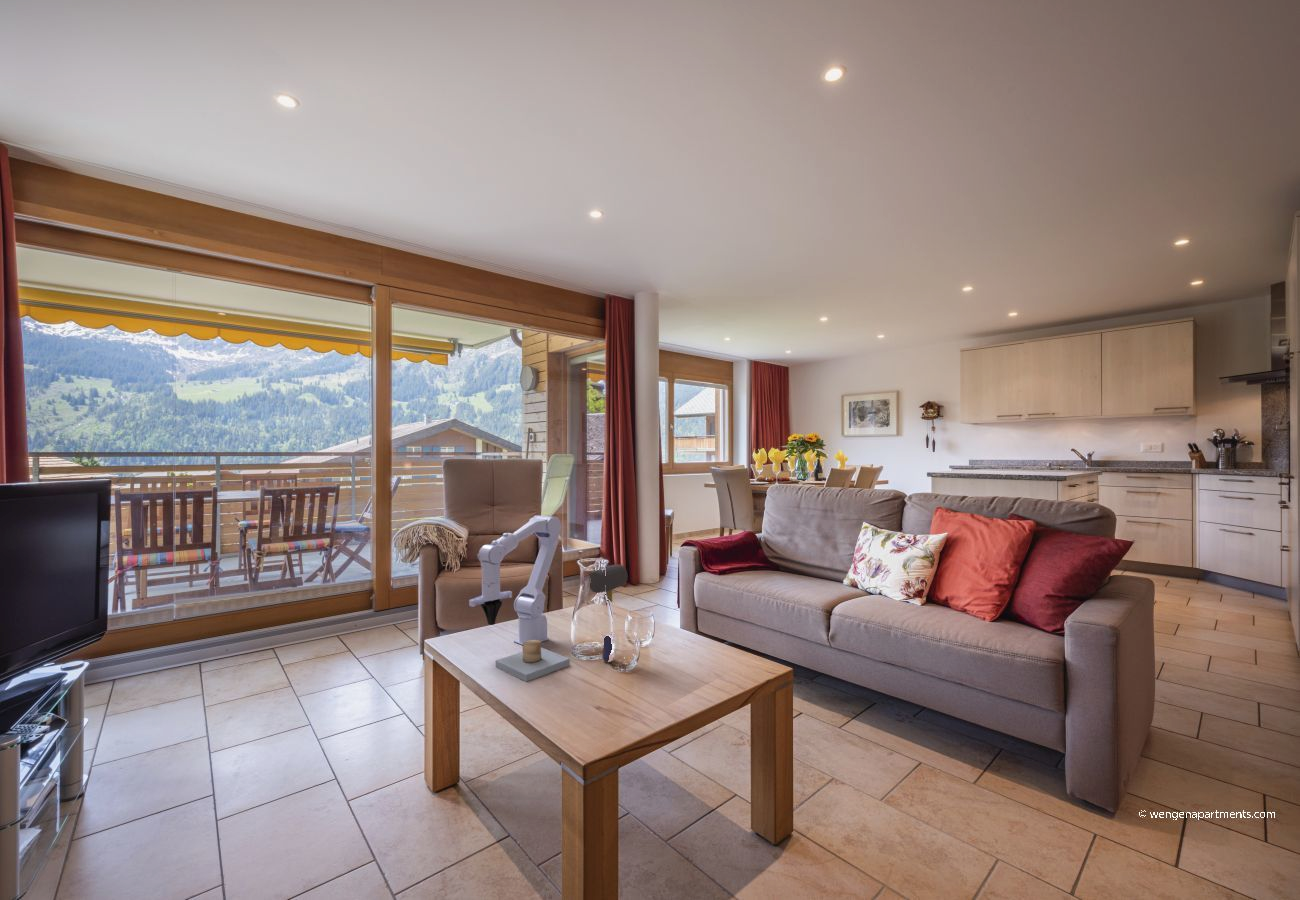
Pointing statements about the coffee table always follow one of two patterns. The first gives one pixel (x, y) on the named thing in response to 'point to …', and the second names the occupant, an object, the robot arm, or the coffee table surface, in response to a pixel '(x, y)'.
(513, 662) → the mortise board
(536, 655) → the oak peg
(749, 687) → the coffee table surface
